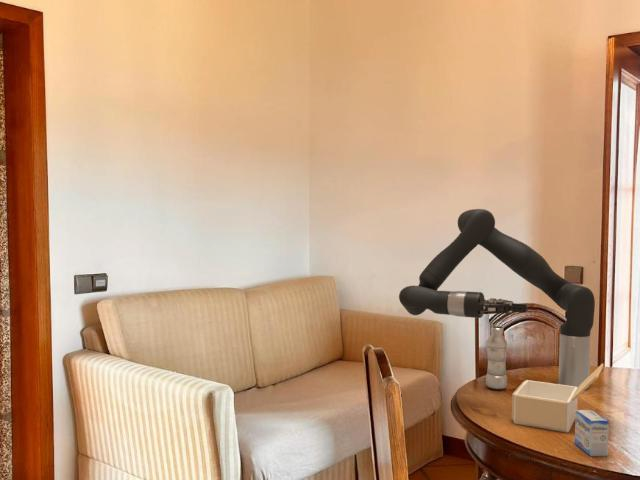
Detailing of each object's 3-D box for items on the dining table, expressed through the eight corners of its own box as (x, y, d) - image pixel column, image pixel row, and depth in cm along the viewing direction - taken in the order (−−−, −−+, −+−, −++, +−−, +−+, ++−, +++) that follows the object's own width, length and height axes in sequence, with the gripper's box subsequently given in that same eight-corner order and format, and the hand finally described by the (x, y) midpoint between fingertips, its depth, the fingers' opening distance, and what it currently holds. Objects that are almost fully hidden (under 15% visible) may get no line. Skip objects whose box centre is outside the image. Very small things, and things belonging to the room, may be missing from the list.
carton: (524, 405, 186) (525, 379, 186) (577, 414, 179) (578, 386, 178) (510, 423, 171) (511, 394, 171) (567, 433, 164) (568, 403, 164)
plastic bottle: (508, 392, 200) (509, 329, 198) (485, 390, 201) (487, 328, 200) (506, 386, 206) (507, 325, 205) (484, 385, 207) (485, 324, 206)
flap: (602, 363, 174) (603, 364, 174) (579, 385, 177) (581, 386, 177) (595, 376, 161) (597, 377, 161) (571, 399, 164) (572, 401, 164)
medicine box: (574, 444, 157) (574, 409, 157) (591, 443, 157) (592, 409, 157) (590, 456, 149) (591, 420, 149) (608, 456, 150) (609, 420, 149)
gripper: (459, 294, 180) (521, 298, 171) (472, 288, 191) (531, 292, 183) (459, 320, 180) (521, 325, 172) (472, 313, 192) (531, 317, 183)
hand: (526, 308), depth 177 cm, fingers closed
